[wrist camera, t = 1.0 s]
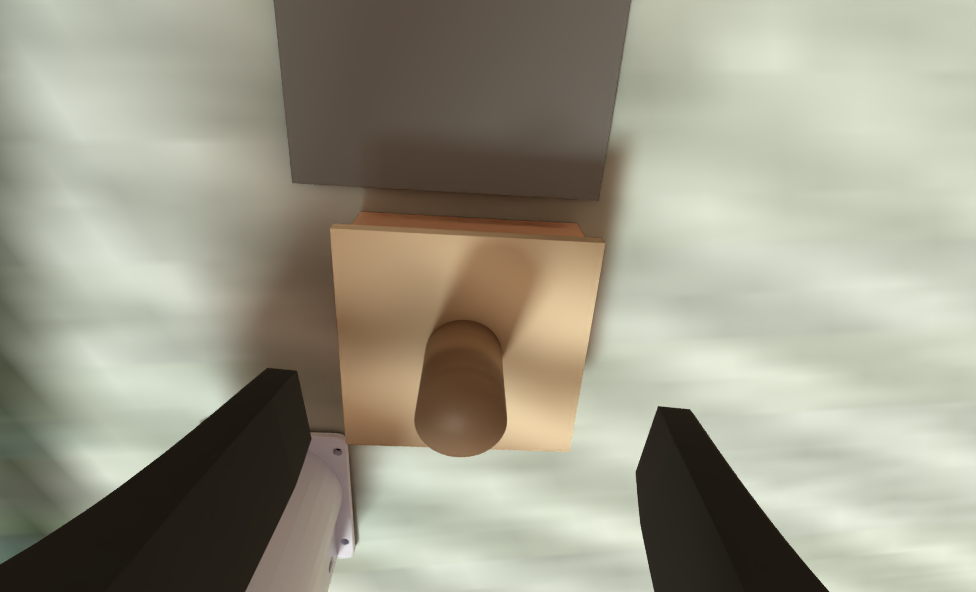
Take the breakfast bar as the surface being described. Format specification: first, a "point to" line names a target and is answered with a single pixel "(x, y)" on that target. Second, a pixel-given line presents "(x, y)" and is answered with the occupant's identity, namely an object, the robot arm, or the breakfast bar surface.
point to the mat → (451, 93)
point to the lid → (462, 336)
